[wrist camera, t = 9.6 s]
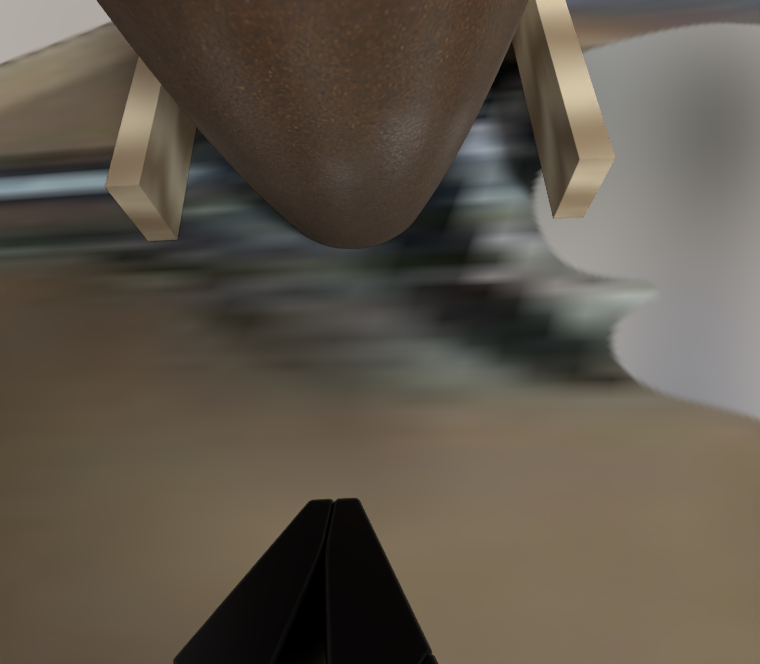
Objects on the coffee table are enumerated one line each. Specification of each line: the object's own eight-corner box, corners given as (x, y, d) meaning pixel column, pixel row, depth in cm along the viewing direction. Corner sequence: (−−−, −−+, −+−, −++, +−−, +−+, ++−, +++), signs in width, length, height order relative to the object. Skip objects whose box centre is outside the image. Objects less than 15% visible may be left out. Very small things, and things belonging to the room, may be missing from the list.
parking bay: (583, 217, 24) (615, 157, 21) (148, 241, 25) (104, 186, 21) (530, 15, 31) (547, -57, 27) (188, 36, 32) (161, -31, 28)
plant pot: (160, 183, 26) (-134, -273, 12) (370, 56, 30) (341, -411, 16) (328, 379, 21) (173, -3, 7) (557, 197, 25) (774, -304, 10)
